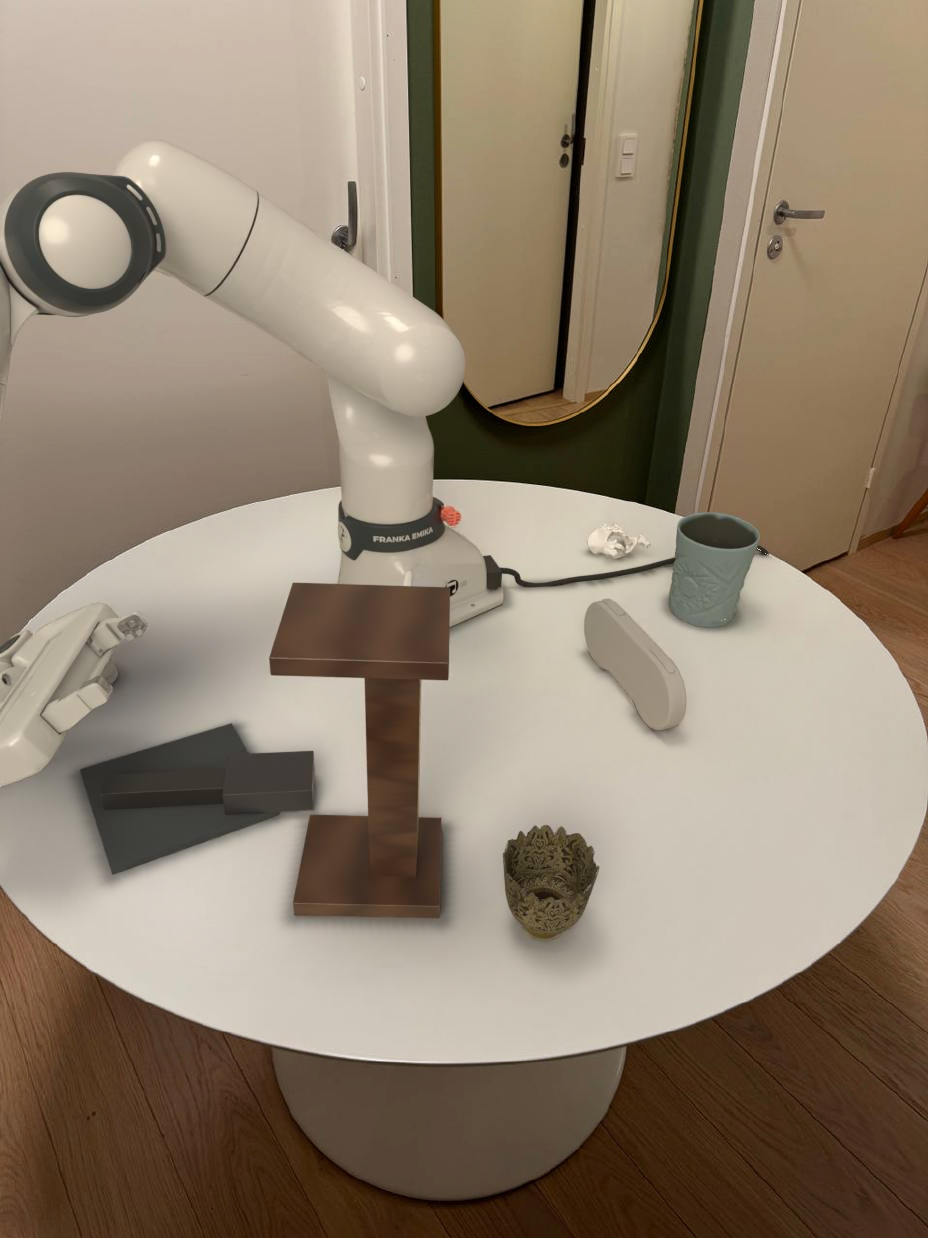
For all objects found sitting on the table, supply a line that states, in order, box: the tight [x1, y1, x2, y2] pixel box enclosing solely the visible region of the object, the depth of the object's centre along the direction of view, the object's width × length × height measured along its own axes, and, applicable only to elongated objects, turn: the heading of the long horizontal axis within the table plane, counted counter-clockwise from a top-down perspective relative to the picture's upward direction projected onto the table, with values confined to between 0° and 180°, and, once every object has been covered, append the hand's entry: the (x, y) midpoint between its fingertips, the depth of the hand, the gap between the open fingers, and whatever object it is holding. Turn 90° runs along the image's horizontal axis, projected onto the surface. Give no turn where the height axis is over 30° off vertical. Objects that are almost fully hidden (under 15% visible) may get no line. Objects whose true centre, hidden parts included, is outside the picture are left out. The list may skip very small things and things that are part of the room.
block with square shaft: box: [100, 750, 316, 815], centre depth 81 cm, size 19×6×2 cm, turn 97°
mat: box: [79, 722, 280, 875], centre depth 83 cm, size 15×14×1 cm
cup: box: [502, 824, 600, 941], centre depth 70 cm, size 8×7×8 cm
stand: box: [268, 582, 451, 919], centre depth 69 cm, size 12×10×26 cm
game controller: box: [583, 598, 687, 731], centre depth 98 cm, size 20×2×8 cm, turn 20°
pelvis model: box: [586, 522, 651, 560], centre depth 127 cm, size 8×4×7 cm
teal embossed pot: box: [667, 511, 761, 628], centre depth 112 cm, size 10×10×12 cm
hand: (124, 652), depth 72 cm, fingers open, 8 cm apart
